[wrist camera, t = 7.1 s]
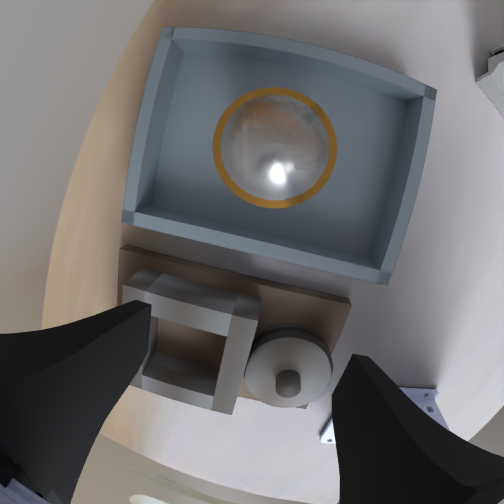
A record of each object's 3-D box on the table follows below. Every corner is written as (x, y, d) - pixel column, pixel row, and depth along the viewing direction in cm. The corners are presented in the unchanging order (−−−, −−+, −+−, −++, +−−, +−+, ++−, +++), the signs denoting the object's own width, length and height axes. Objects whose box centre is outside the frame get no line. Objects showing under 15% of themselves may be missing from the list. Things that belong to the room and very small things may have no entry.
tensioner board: (348, 298, 20) (363, 332, 16) (305, 400, 23) (307, 440, 19) (126, 244, 20) (93, 265, 16) (123, 354, 23) (99, 385, 19)
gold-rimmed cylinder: (322, 126, 16) (349, 105, 10) (304, 199, 18) (319, 222, 11) (247, 108, 17) (228, 76, 10) (230, 181, 18) (200, 192, 11)
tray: (416, 98, 16) (436, 89, 13) (373, 268, 19) (387, 285, 16) (178, 43, 16) (162, 27, 13) (142, 213, 19) (121, 222, 17)
